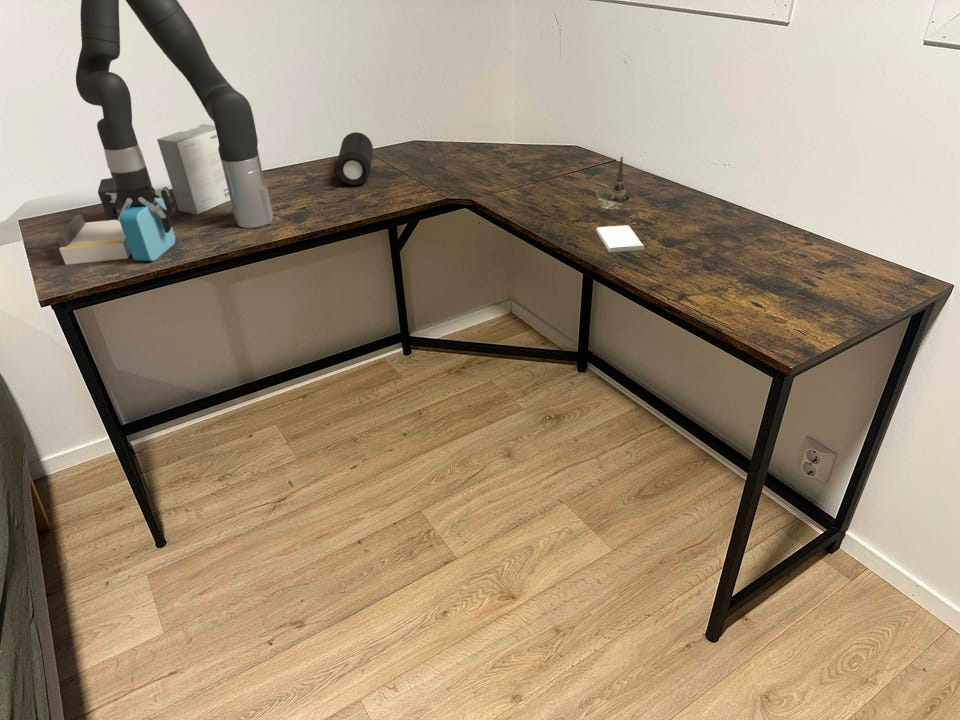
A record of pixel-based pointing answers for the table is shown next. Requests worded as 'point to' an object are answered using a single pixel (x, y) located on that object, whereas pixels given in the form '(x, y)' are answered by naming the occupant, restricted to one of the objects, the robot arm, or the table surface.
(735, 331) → the table surface
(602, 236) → the hard drive
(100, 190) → the small box
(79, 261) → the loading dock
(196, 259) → the table surface
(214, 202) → the hard drive box
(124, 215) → the data package
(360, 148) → the portable speaker
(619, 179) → the eiffel tower figurine
